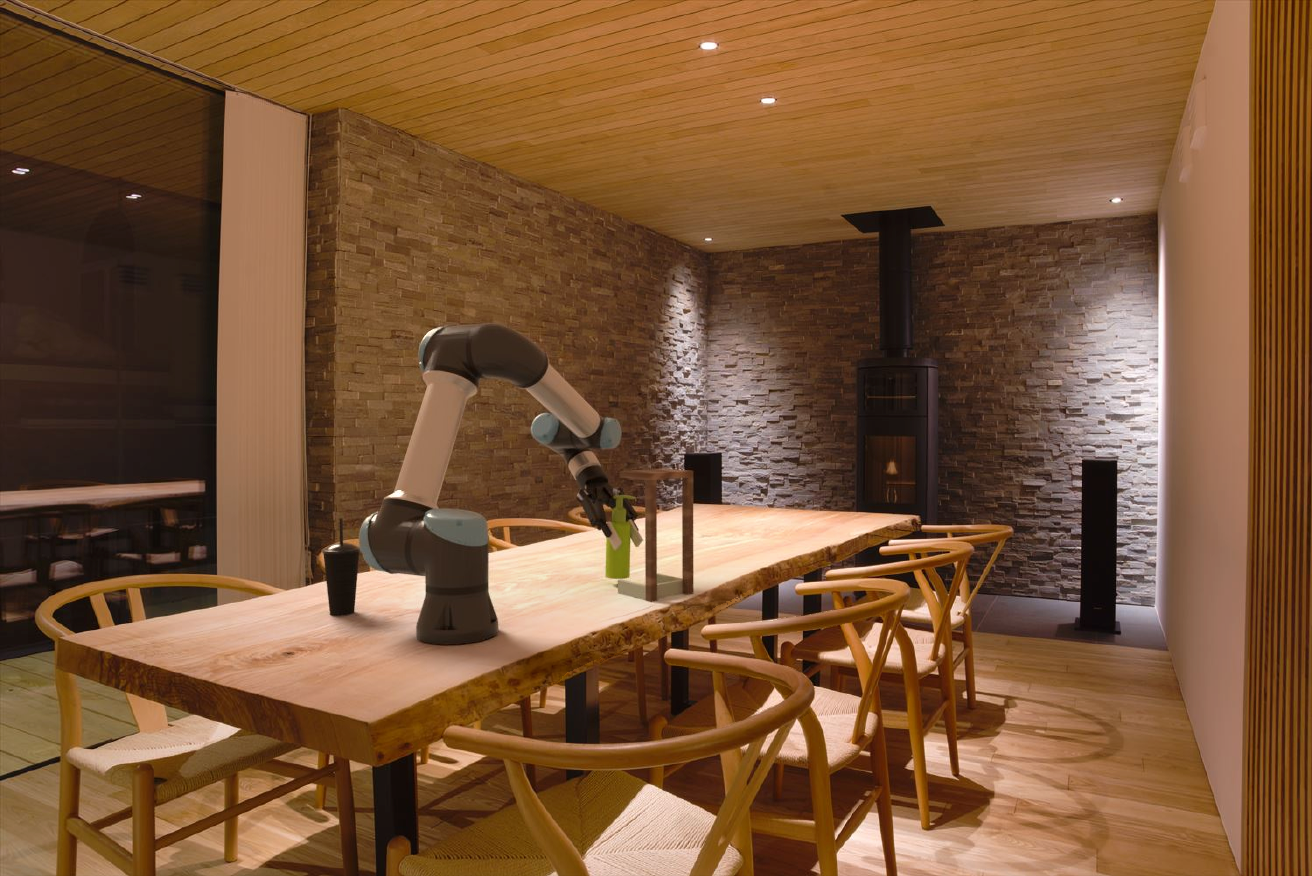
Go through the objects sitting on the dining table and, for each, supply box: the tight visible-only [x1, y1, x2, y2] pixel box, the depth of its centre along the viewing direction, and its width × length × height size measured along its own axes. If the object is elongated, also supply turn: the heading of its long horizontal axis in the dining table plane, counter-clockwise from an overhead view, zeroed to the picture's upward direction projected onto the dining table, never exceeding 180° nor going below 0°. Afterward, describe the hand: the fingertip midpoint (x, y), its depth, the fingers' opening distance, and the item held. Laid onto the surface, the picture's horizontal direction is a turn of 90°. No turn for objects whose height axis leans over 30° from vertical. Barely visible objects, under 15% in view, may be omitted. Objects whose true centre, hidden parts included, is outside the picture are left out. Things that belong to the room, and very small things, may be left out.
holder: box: [617, 573, 683, 601], centre depth 197 cm, size 12×10×3 cm
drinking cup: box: [321, 517, 361, 617], centre depth 177 cm, size 8×8×20 cm
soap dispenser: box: [605, 494, 636, 580], centre depth 206 cm, size 6×7×20 cm
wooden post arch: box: [619, 468, 694, 603], centre depth 195 cm, size 13×11×28 cm
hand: (629, 544), depth 204 cm, fingers closed on soap dispenser, 6 cm apart
